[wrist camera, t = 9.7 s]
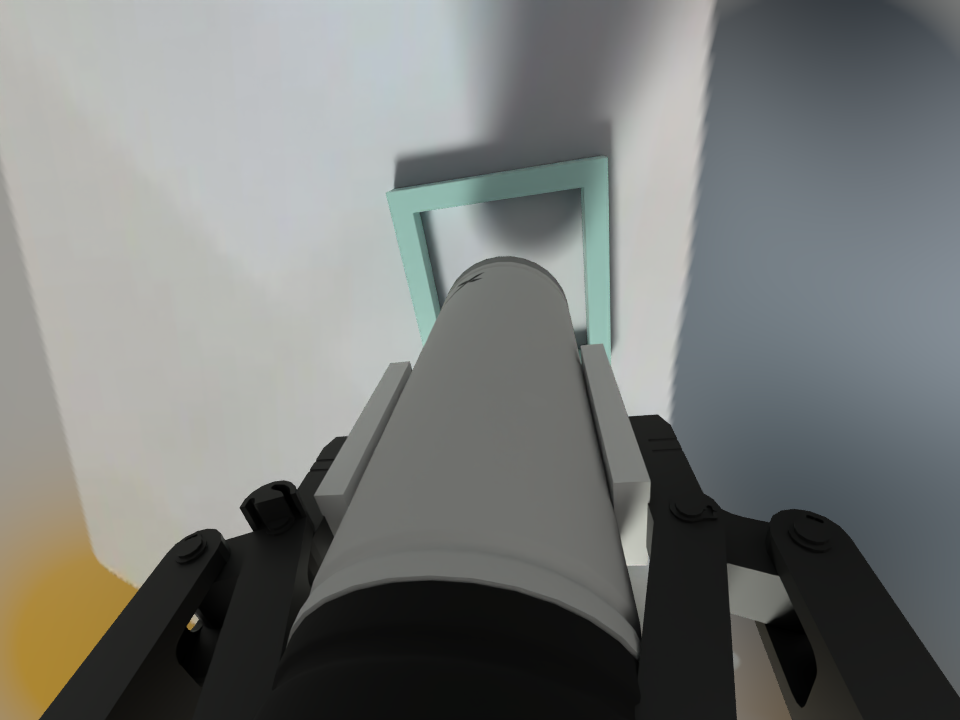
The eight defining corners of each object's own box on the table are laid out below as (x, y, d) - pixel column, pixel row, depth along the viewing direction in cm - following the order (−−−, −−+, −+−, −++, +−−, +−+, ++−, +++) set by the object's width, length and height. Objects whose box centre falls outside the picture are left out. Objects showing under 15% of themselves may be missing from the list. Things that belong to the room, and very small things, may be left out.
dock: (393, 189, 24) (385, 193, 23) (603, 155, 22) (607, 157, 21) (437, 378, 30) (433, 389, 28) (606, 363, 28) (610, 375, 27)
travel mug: (439, 249, 21) (-47, 938, 3) (577, 260, 20) (899, 1115, 3) (438, 361, 24) (187, 1031, 6) (558, 373, 23) (651, 1121, 6)
